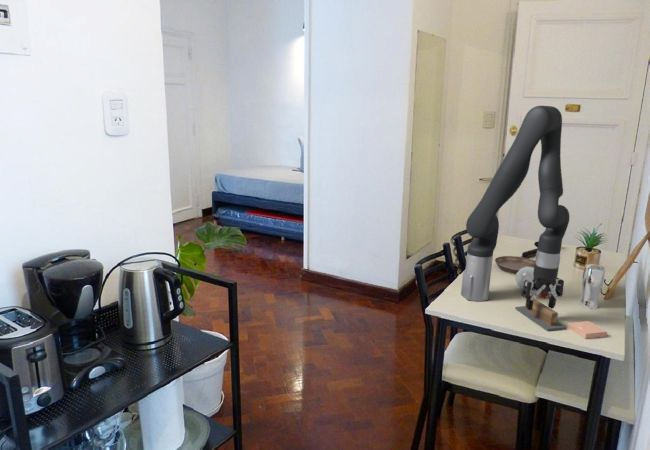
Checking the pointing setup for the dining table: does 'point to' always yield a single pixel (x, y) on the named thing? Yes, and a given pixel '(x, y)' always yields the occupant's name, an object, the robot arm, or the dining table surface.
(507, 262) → the plant saucer
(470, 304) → the dining table surface
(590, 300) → the silver upright cylinder
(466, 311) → the dining table surface
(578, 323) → the glazed tile
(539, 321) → the mat
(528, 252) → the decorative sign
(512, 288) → the dining table surface
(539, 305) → the bar
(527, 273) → the potion bottle
